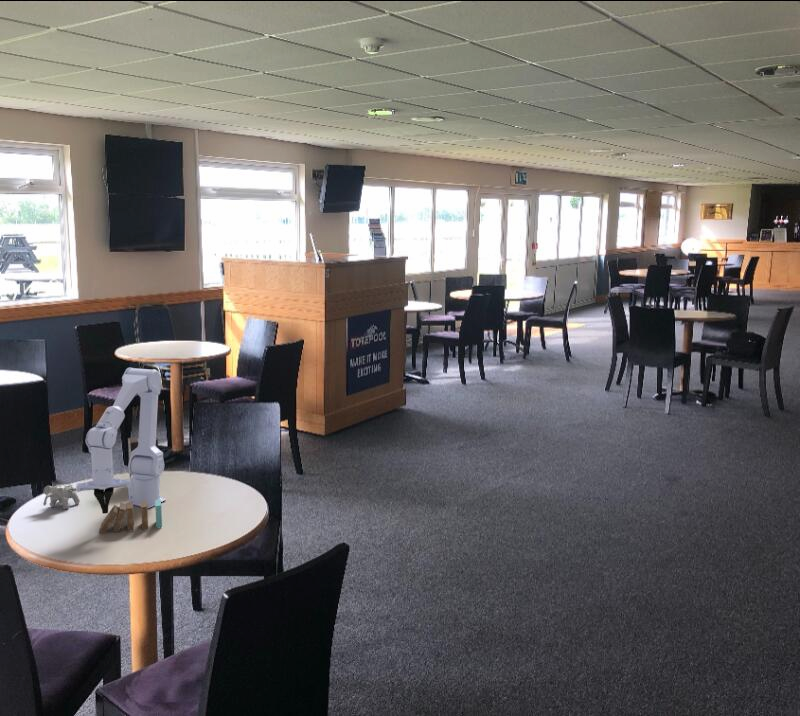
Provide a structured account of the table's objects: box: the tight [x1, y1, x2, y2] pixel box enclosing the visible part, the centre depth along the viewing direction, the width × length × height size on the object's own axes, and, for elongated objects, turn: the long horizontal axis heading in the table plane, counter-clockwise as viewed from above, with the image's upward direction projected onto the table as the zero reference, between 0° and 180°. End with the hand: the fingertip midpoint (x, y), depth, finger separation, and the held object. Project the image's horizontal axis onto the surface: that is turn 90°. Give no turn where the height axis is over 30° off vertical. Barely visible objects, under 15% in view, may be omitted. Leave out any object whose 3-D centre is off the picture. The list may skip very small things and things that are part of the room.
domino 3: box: [126, 501, 135, 532], centre depth 224 cm, size 2×5×7 cm, turn 17°
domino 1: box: [99, 504, 120, 534], centre depth 222 cm, size 2×5×7 cm
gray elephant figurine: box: [43, 483, 81, 510], centre depth 237 cm, size 9×12×8 cm
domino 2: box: [112, 502, 127, 533], centre depth 223 cm, size 2×5×7 cm, turn 18°
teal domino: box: [154, 499, 163, 529], centre depth 226 cm, size 2×5×7 cm, turn 17°
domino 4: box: [140, 501, 149, 530], centre depth 225 cm, size 2×5×7 cm, turn 17°
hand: (105, 512), depth 221 cm, fingers closed
